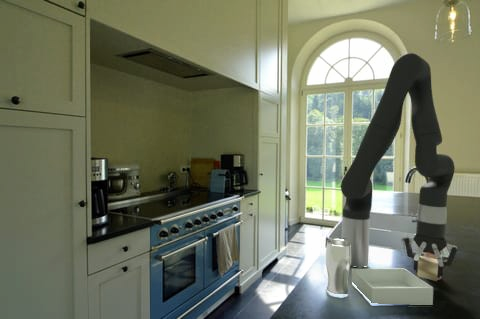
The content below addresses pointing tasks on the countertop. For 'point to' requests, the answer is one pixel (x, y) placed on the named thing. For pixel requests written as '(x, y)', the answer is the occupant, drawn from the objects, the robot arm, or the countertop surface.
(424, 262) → the beech cube
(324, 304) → the countertop surface
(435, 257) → the terracotta cylinder
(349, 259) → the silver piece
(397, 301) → the grey tote
